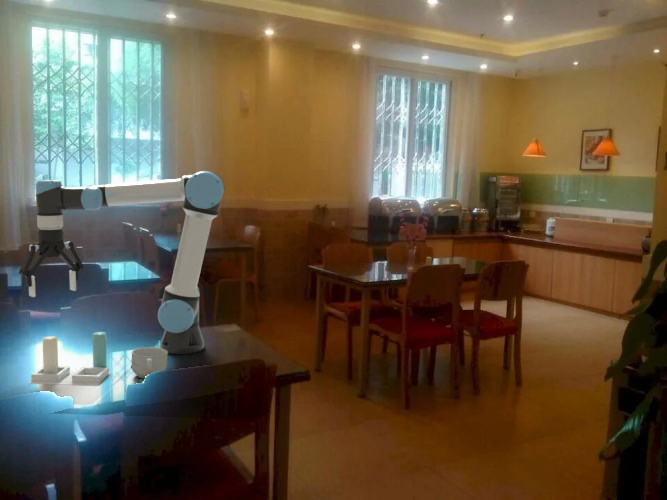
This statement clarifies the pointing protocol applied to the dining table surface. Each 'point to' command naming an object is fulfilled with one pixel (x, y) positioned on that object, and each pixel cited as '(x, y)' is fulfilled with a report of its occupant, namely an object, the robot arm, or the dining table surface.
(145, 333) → the dining table surface
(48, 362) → the peg seated
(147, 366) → the teacup
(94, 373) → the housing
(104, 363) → the teal peg
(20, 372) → the dining table surface
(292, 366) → the dining table surface
